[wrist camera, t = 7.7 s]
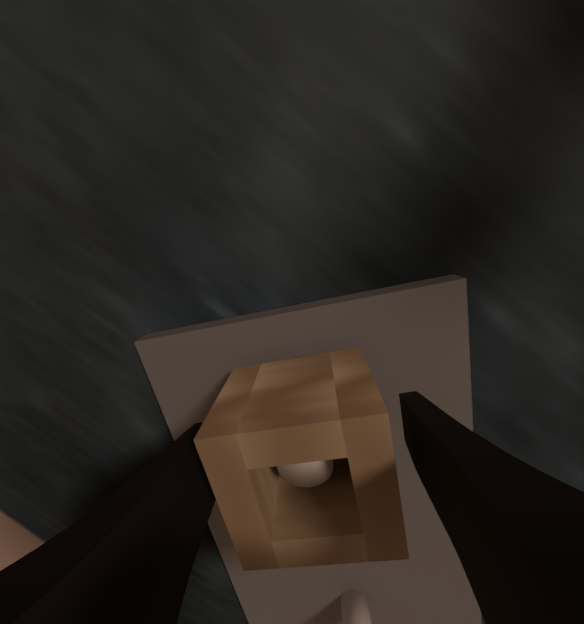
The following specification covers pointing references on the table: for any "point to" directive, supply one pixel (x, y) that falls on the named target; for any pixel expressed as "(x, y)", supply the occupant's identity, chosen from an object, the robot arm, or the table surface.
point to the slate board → (398, 366)
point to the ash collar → (301, 449)
